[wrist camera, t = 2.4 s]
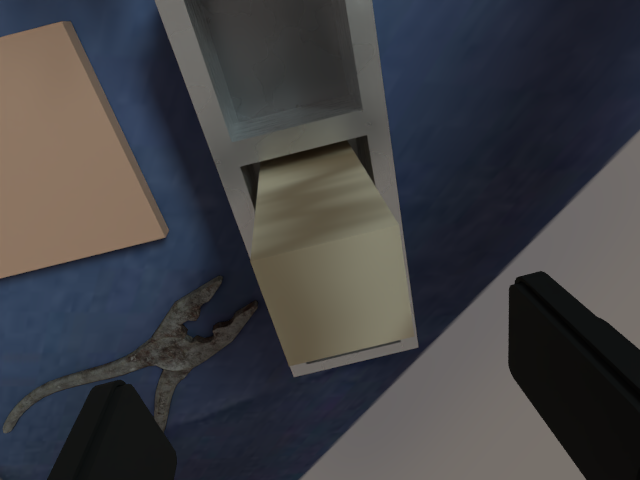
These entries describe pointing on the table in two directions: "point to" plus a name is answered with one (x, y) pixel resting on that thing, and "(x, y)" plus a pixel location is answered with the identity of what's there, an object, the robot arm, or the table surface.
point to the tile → (63, 158)
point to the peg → (328, 255)
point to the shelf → (286, 99)
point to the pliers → (156, 354)
